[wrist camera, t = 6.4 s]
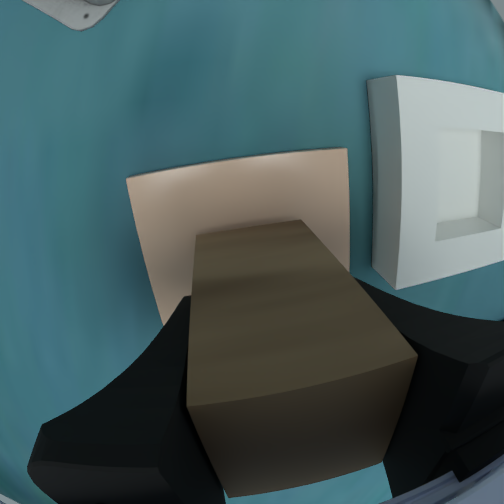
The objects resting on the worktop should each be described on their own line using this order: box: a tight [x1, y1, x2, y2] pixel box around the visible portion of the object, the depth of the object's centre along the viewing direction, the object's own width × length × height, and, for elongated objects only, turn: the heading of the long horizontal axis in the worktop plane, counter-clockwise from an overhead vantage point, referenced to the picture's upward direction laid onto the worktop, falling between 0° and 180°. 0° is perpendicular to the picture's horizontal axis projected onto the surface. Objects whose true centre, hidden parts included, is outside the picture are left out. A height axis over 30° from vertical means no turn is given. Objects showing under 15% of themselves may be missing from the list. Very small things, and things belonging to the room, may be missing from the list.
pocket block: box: [366, 75, 504, 290], centre depth 13 cm, size 9×9×2 cm
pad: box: [126, 147, 350, 326], centre depth 14 cm, size 9×9×1 cm
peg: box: [187, 219, 418, 498], centre depth 9 cm, size 4×4×8 cm
